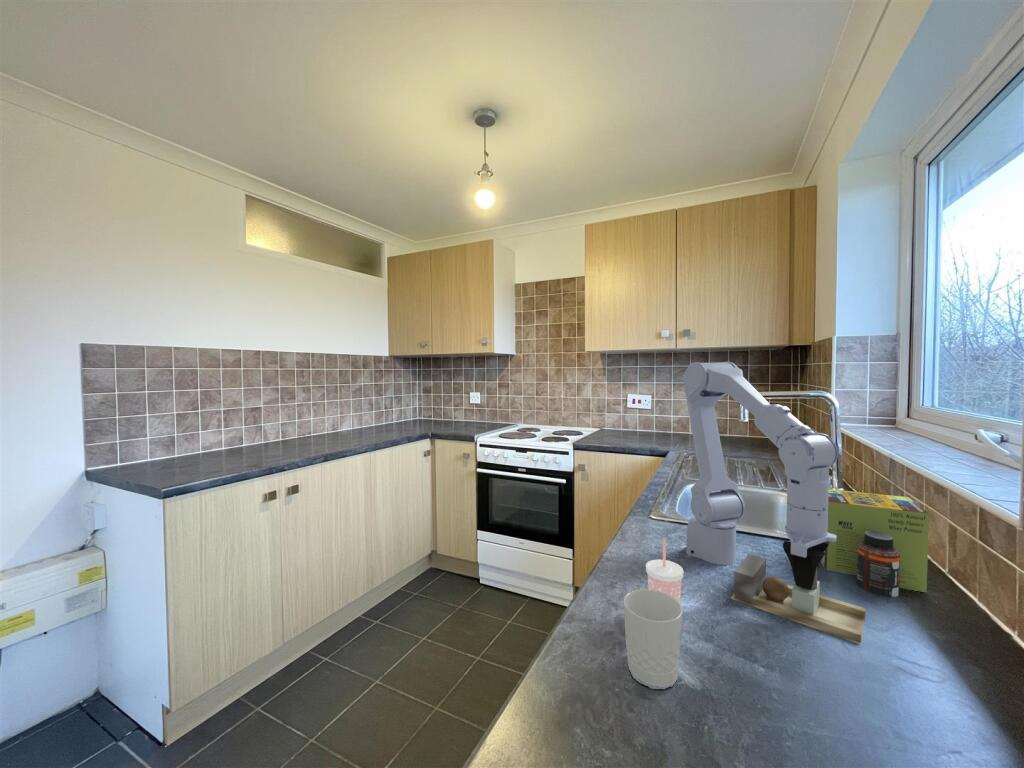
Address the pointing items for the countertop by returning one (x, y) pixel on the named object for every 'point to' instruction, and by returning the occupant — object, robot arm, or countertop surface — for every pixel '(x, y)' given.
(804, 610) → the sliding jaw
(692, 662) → the countertop surface
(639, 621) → the white cup
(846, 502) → the protein box
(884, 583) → the supplement bottle
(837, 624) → the base
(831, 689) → the countertop surface
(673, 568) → the beverage cup
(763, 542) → the countertop surface
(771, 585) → the nut
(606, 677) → the countertop surface
